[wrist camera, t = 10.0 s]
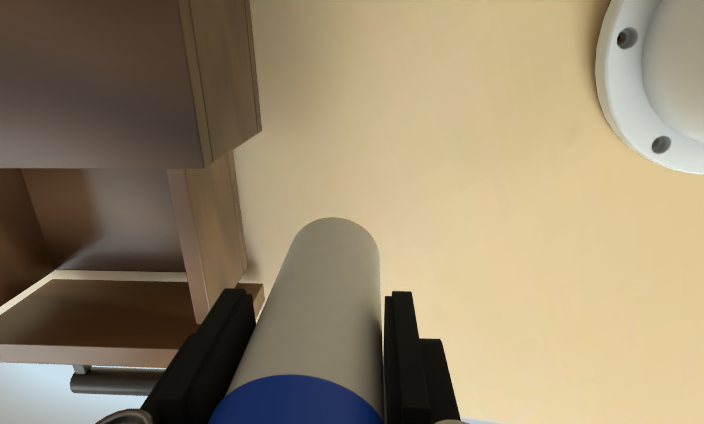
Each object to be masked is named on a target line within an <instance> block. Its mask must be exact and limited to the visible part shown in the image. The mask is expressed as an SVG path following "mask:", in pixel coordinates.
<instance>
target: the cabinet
mask: <svg viewBox="0 0 704 424" xmlns="http://www.w3.org/2000/svg"><path fill="white" fill-rule="evenodd" d="M261 131H262V125H261V115H260V105H259V95H258V85H257V74H256V64H255V54H254V44H253V34H252V24H251V13H250V3H249V0H0V168H31V169H205V168H207V167H208V166H210V165H211V164H212V163H214V162H215V161H217V160H218V159H220V158H221V157H223V156H224V155H226V154H227V153H229V152H230V151H232V150H233V149H235V148H236V147H238V146H239V145H241V144H242V143H244V142H245V141H247V140H249V139H250V138H252V137H253V136H255V135H256V134H258V133H260V132H261Z"/></svg>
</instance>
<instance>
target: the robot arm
mask: <svg viewBox="0 0 704 424" xmlns="http://www.w3.org/2000/svg"><path fill="white" fill-rule="evenodd" d="M619 34H620V36H621V39H620V41H619V43H618V44H617V37H618V35H619ZM595 79H596V87H597V94H598V99H599V102H600V105H601V108H602V110H603V113H604V116H605V119H606V120H607V122H608V123H609V125H610V126H611V128H612V130H613V131H614V133H615V134H616V136H617V137H618V138H619V139H620V140H621V141H622V142H623V143H624V144H625V145H627V146H628V147H629V148H630V149H631V150H632V151H633V152H635V153H637V154H638V155H640V156H642V157H644V158H645V159H647V160H649V161H651V162H653V163H656V164H659V165H662V166H664V167H667V168H669V169H672V170H676V171H681V172H687V173H692V174H704V0H611V2H610V5H609V7H608V9H607V12H606V14H605V16H604V19H603V23H602V27H601V31H600V35H599V39H598V43H597V49H596V63H595ZM255 327H256V320H255V312H254V304H253V297H252V294H247V293H246V290H245V289H240V288H225V289H224V290H223V291H222V293H221V294H220V296H219V297H218V299H217V301H216V302H215V304H214V305H213V307H212V308H211V310H210V311H209V313H208V315H207V316H206V318H205V319H204V321H203V322H202V324H201V325H200V327H199V329H198V330H197V332H196V333H192V334H190V335H189V336H188V337H187V338H186V340H185V341H184V343H183V344H182V346H181V347H180V349H179V350H178V352H177V353H176V355H175V356H174V358H173V359H172V361H171V362H170V364H169V365H168V367H167V368H166V370H165V371H164V373H163V374H162V376H161V378H160V379H159V381H158V382H157V384H156V385H155V387H154V388H153V390H152V391H151V393H150V394H149V396H148V397H147V399H146V400H145V402H144V403H143V405H142V406H141V408H140V409H126V410H122V411H118V412H115V413H113V414H111V415H108V416H106V417H105V418H103V419H101V420H100V421H98V422H97V423H96V424H208V422H209V420H210V418H211V415H212V413H213V411H214V409H215V408H216V407H217V405H218V404H219V402H220V401H221V400H222V399H223V398H224V397H225V395H226V393H227V391H228V389H229V386H230V384H231V382H232V379H233V377H234V375H235V372H236V370H237V368H238V366H239V363H240V361H241V359H242V356H243V354H244V352H245V350H246V347H247V345H248V343H249V340H250V338H251V336H252V333H253V331H254V329H255ZM383 381H384V411H385V424H469V423H466V422H462V421H461V419H460V415H459V411H458V407H457V403H456V399H455V395H454V390H453V386H452V382H451V378H450V374H449V370H448V366H447V361H446V357H445V353H444V349H443V345H442V342H441V340H440V339H419V335H418V328H417V322H416V316H415V310H414V304H413V298H412V293H411V292H405V291H392V296H385V314H384V356H383Z"/></svg>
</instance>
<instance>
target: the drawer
mask: <svg viewBox="0 0 704 424" xmlns="http://www.w3.org/2000/svg"><path fill="white" fill-rule="evenodd" d="M246 268H247V259H246V251H245V243H244V236H243V228H242V220H241V212H240V205H239V197H238V189H237V181H236V174H235V166H234V158H233V150H232V151H230V152H229V153H227V154H226V155H224V156H223V157H221V158H220V159H218V160H217V161H215V162H214V163H212V164H211V165H210V166H208V167H207V168H205V169H31V168H0V306H2V305H3V304H5V303H6V302H8V301H9V300H11V299H12V298H14V297H15V296H17V295H18V294H20V293H21V292H23V291H24V290H26V289H27V288H29V287H30V286H32V285H33V284H35V283H36V282H38V281H39V280H41V279H42V278H44V277H45V276H47V275H48V274H50V273H51V272H53V271H54V270H98V271H148V272H186V274H187V279H188V282H162V281H115V280H69V279H52V280H50V281H49V282H48V283H46V284H45V285H43V286H42V287H40V288H39V289H37V290H36V291H35V292H33V293H32V294H30V295H29V296H27V297H26V298H24V299H23V300H22V301H20V302H19V303H17V304H16V305H14V306H13V307H11V308H10V309H9V310H7V311H6V312H4V313H3V314H1V315H0V362H9V363H39V364H67V365H73V367H74V370H75V373H74V374H73V376H72V378H71V382H70V389H71V391H72V392H74V393H85V394H86V393H87V394H113V395H137V396H138V395H139V396H149V394H150V393H151V391H152V390H153V388H154V387H155V385H156V384H157V382H158V381H159V379H160V378H161V376H162V374H163V373H164V371H165V369H136V368H107V367H92V365H96V366H125V367H127V366H128V367H154V368H167V367H168V365H169V364H170V362H171V361H172V359H173V358H174V356H175V355H176V353H177V352H178V350H179V349H180V347H181V346H182V344H183V343H184V341H185V340H186V338H187V337H188V336H189V335H190V334H192V333H196V332H197V330H198V329H199V327H200V325H201V324H202V322H203V321H204V319H205V318H206V316H207V315H208V313H209V311H210V310H211V308H212V307H213V305H214V304H215V302H216V301H217V299H218V297H219V296H220V294H221V293H222V291H223V290H224V289H225V288H240V289H245V290H246V293H247V294H252V297H253V304H254V312H255V320H256V318H257V316H258V314H259V311H260V309H261V307H262V305H263V303H264V300H265V297H264V288H263V284H255V283H238V281H239V280H240V278H241V276H242V275H243V273H244V272H245V270H246Z"/></svg>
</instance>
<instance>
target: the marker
mask: <svg viewBox="0 0 704 424" xmlns="http://www.w3.org/2000/svg"><path fill="white" fill-rule="evenodd" d="M208 424H385V411H384V381H383V351H382V321H381V291H380V260H379V251H378V248H377V245H376V243H375V241H374V239H373V238H372V236H371V235H370V234H369V233H368V232H367V231H366V230H365V229H364V228H363V227H361V226H360V225H358V224H357V223H354V222H352V221H350V220H347V219H342V218H334V217H332V218H323V219H319V220H316V221H313V222H311V223H309V224H308V225H306V226H305V227H303V228H302V229H301V230H300V231H299V232H298V233H297V235H296V236H295V238H294V240H293V242H292V244H291V246H290V248H289V251H288V253H287V255H286V258H285V260H284V262H283V265H282V267H281V269H280V271H279V274H278V276H277V278H276V281H275V283H274V285H273V288H272V290H271V292H270V294H269V297H268V299H267V301H266V304H265V306H264V308H263V310H262V313H261V315H260V317H259V320H258V322H257V324H256V327H255V329H254V331H253V333H252V336H251V338H250V340H249V343H248V345H247V347H246V350H245V352H244V354H243V356H242V359H241V361H240V363H239V366H238V368H237V370H236V372H235V375H234V377H233V379H232V382H231V384H230V386H229V389H228V391H227V393H226V395H225V397H224V398H223V399H222V400H221V401H220V402H219V404H218V405H217V407H216V408H215V409H214V411H213V413H212V415H211V418H210V420H209V422H208Z"/></svg>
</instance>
